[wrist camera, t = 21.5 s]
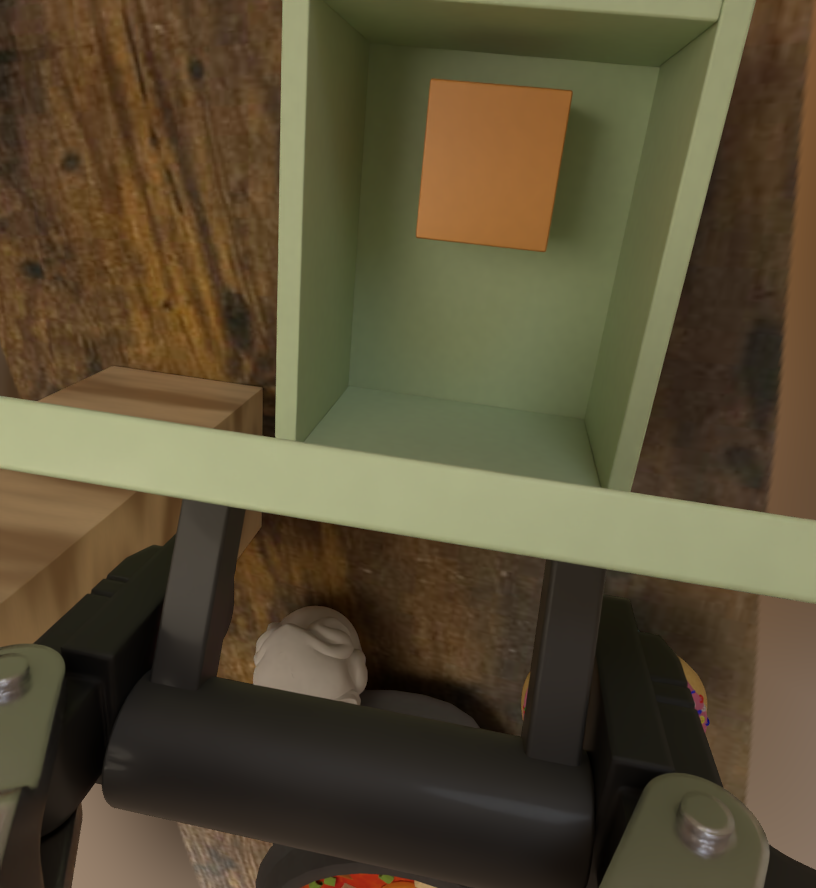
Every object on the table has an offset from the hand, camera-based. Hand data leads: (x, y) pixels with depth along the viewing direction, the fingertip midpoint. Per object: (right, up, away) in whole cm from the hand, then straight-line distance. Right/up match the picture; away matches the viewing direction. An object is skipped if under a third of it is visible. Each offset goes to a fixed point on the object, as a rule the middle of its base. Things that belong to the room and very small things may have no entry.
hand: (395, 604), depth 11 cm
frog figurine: (-4, -8, +26) cm, 28 cm away
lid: (+1, +2, +4) cm, 4 cm away
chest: (+4, +11, +17) cm, 21 cm away
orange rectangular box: (+4, +14, +15) cm, 21 cm away
